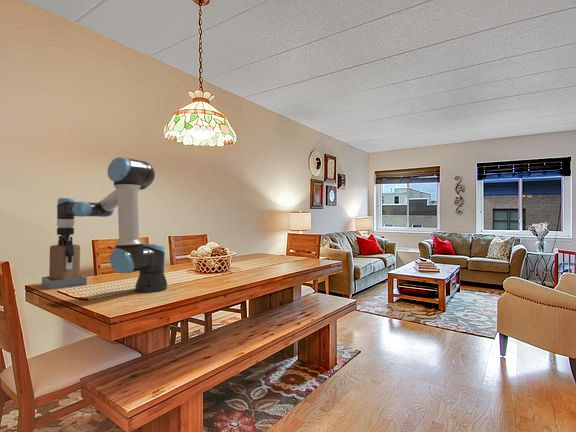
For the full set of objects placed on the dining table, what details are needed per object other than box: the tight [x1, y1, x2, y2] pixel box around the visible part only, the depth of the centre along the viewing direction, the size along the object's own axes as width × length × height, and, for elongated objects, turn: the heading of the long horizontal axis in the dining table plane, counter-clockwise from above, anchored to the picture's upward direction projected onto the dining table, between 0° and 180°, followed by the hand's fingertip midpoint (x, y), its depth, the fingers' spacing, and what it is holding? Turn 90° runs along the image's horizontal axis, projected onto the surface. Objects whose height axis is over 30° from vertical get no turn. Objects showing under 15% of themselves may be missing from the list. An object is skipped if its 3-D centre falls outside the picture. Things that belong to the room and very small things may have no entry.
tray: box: [41, 274, 88, 291], centre depth 173 cm, size 16×16×4 cm
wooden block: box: [48, 244, 81, 281], centre depth 173 cm, size 10×10×20 cm
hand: (64, 267), depth 173 cm, fingers open, 13 cm apart
